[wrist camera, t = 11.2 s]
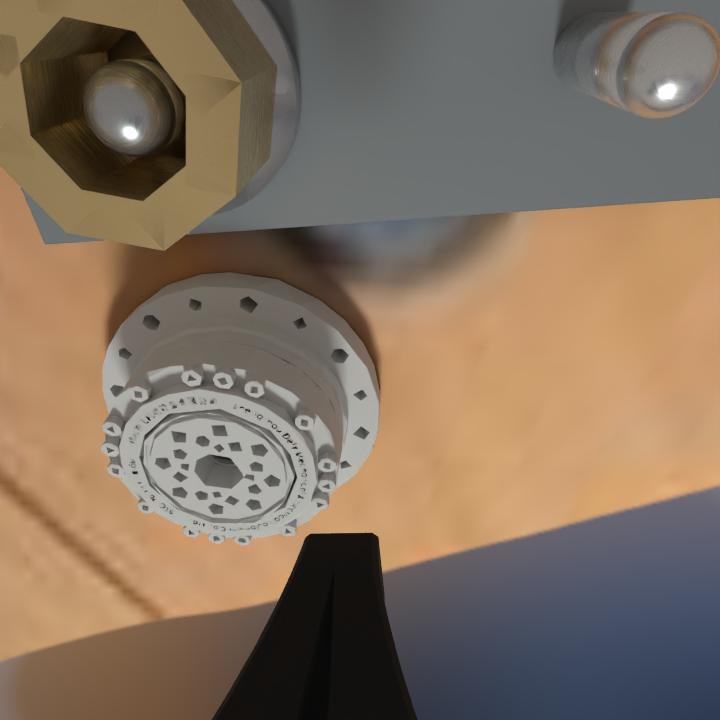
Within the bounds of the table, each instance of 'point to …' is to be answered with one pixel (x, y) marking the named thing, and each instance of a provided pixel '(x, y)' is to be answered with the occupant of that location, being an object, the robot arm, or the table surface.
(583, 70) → the stand rod
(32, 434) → the table surface
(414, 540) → the table surface
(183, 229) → the collar
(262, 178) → the hub
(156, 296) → the mechanical component
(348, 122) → the base board
